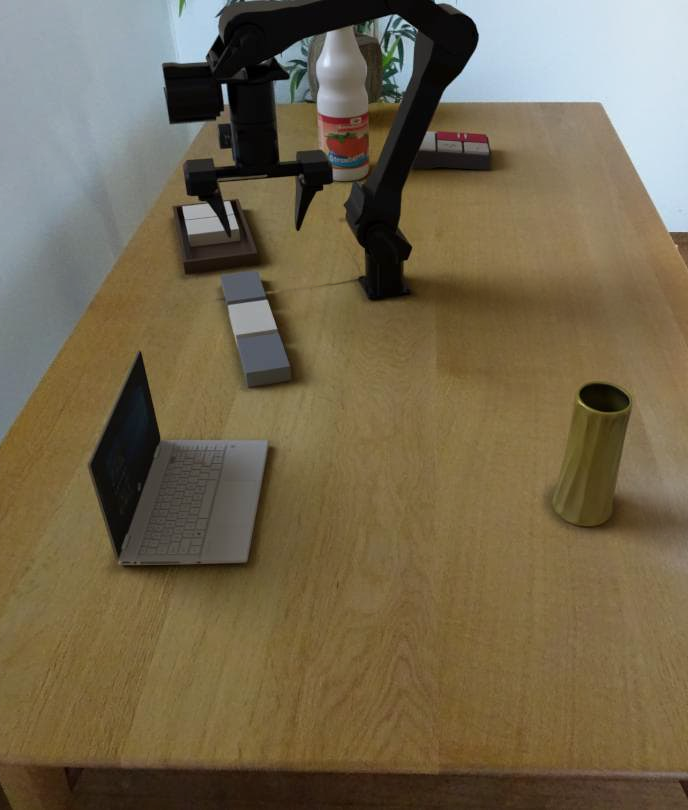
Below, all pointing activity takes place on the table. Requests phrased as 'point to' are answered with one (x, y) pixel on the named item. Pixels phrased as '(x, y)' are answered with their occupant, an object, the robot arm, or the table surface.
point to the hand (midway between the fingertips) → (263, 233)
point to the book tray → (216, 246)
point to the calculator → (454, 151)
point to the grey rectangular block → (242, 287)
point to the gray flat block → (264, 360)
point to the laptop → (172, 486)
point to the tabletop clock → (369, 52)
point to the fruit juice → (343, 105)
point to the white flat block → (252, 319)
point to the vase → (593, 453)
